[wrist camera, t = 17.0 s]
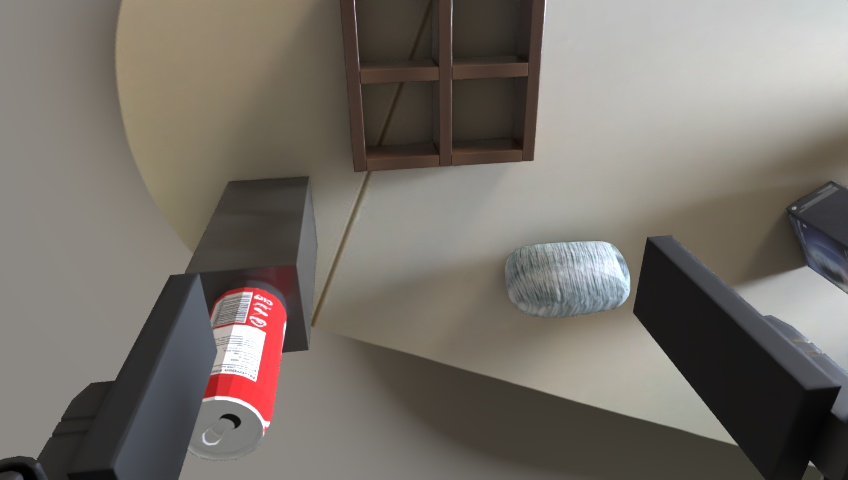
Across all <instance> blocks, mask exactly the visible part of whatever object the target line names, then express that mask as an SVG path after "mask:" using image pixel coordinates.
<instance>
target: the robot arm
mask: <svg viewBox="0 0 848 480" xmlns="http://www.w3.org/2000/svg"><path fill="white" fill-rule="evenodd" d="M633 313H634V314H635V316H636V317H637V318H638V319H639V321H640V322H641V323H642V325H643V326H644V327H645V328H646V330H647V331H648V332H649V333H650V335H651V336H652V337H653V338H654V340H655V341H656V342H657V343H658V345H659V346H660V347H661V348H662V350H663V351H664V352H665V353H666V355H667V356H668V357H669V359H670V360H671V361H672V362H673V364H674V365H675V366H676V367H677V369H678V370H679V371H680V372H681V374H682V375H683V376H684V377H685V379H686V380H687V381H688V382H689V384H690V385H691V386H692V387H693V389H694V390H695V391H696V393H697V394H698V395H699V396H700V398H701V399H702V400H703V401H704V403H705V404H706V405H707V406H708V408H709V409H710V410H711V411H712V413H713V414H714V415H715V416H716V418H717V419H718V420H719V421H720V423H721V424H722V425H723V427H724V428H725V429H726V430H727V432H728V433H729V434H730V435H731V437H732V438H733V439H734V440H735V442H736V443H737V444H738V445H739V447H740V448H741V449H742V450H743V452H744V453H745V454H746V455H747V457H748V458H749V459H750V461H751V462H752V463H753V464H754V466H755V467H756V468H757V469H758V471H759V472H760V473H761V474H762V476H763V477H764V478H765V479H766V480H801V479H802V477H803V475H804V472H805V470H806V468H807V465H808V463H809V461H811V462H812V463H813V464H814V465H815V466H816V467H817V468H818V470H819V471H821V473H822V476H821V478H820V480H848V373H847V372H846V371H845V370H843V369H842V368H841V367H840V366H839V365H837V364H836V363H835V362H834V361H833V360H832V359H830V358H829V357H828V356H827V355H826V354H822V353H821V350H820V349H819V348H817V347H816V346H815V345H814V344H813V343H809V342H808V339H807V338H806V337H804V336H803V335H802V334H801V333H800V332H798V331H797V330H796V329H795V328H794V327H792V326H791V325H789V324H787V323H785V322H783V321H781V320H779V319H777V318H775V317H773V316H771V315H770V316H762V315H761V314H760V313H759V312H757V311H756V310H755V309H754V308H753V307H752V306H751V305H750V304H748V303H747V302H746V301H745V300H744V299H743V298H742V297H740V296H739V295H738V294H737V293H736V292H735V291H734V290H732V289H731V288H730V287H729V286H728V285H727V284H726V283H725V282H723V281H722V280H721V279H720V278H719V277H718V276H717V275H715V274H714V273H713V272H712V271H711V270H710V269H709V268H707V267H706V266H705V265H704V264H703V263H702V262H701V261H699V260H698V259H697V258H696V257H695V256H694V255H693V254H692V253H690V252H689V251H688V250H687V249H686V248H685V247H684V246H682V245H681V244H680V243H679V242H678V241H677V240H676V239H674V238H673V237H672V236H671V235H668V236H656V237H647V239H646V245H645V250H644V255H643V261H642V266H641V271H640V277H639V282H638V287H637V292H636V298H635V303H634V308H633ZM217 352H218V350H217V346H216V342H215V338H214V334H213V330H212V325H211V321H210V317H209V313H208V309H207V305H206V301H205V296H204V292H203V288H202V284H201V280H200V276H199V273H191V274H179V275H170V277H169V279H168V281H167V282H166V284H165V286H164V288H163V290H162V292H161V294H160V296H159V298H158V299H157V301H156V303H155V305H154V307H153V309H152V311H151V313H150V315H149V317H148V319H147V320H146V323H145V324H144V326H143V328H142V330H141V332H140V334H139V336H138V338H137V340H136V342H135V343H134V345H133V347H132V349H131V351H130V353H129V355H128V357H127V359H126V361H125V362H124V364H123V366H122V368H121V370H120V372H119V374H118V376H117V378H116V380H115V381H107V382H97V383H91V384H90V385H89V386H87V387H86V388H85V389H84V390H83V391H82V392H81V393H80V394H78V395H77V396H76V397H75V398H74V399H73V400H72V401H71V403H70V405H69V406H68V408H67V410H66V411H65V413H64V415H63V416H62V418H61V422H59V423H58V425H57V426H56V428H55V430H54V432H53V433H52V437H51V438H49V440H48V441H47V443H46V445H45V446H44V448H43V450H42V452H41V453H40V455H39V457H38V458H37V460H35V459H33V458H32V457H24V456H17V457H11V458H6V459H2V460H0V480H178V479H179V475H180V472H181V469H182V466H183V462H184V459H185V456H186V453H187V449H188V446H189V443H190V440H191V437H192V433H193V430H194V427H195V424H196V420H197V417H198V414H199V411H200V407H201V404H202V401H203V398H204V394H205V391H206V388H207V385H208V381H209V378H210V375H211V372H212V368H213V365H214V362H215V359H216V355H217Z"/></svg>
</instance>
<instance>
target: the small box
mask: <svg viewBox="0 0 848 480" xmlns="http://www.w3.org/2000/svg"><path fill="white" fill-rule="evenodd" d="M786 212H787V214H788V217H789V219H790V222H791V224H792V227H793V229H794V232H795V234H796V237H797V240H798V242H799V245H800V247H801V250H802V252H803V255H804V258H805V260H806V263H807V265H808V267H810V268H811V269H813V270H814V271H816V272H817V273H818V274H820V275H821V276H823V277H824V278H826V279H827V280H828V281H830V282H831V283H833V284H834V285H835V286H837V287H838V288H840V289H841V290H843V291H844V292H845V293H847V294H848V188H846V187H844V186H842V185H841V184H839V183H837V182H835V181H830V182H828V183H827V184H825V185H824V186H822V187H821V188H819V189H817V190H816V191H814V192H813V193H811V194H809V195H808V196H806V197H804V198H803V199H801V200H799V201H797V202H796V203H794V204H793V205H791V206H790V207H788V208H787V209H786Z"/></svg>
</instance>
